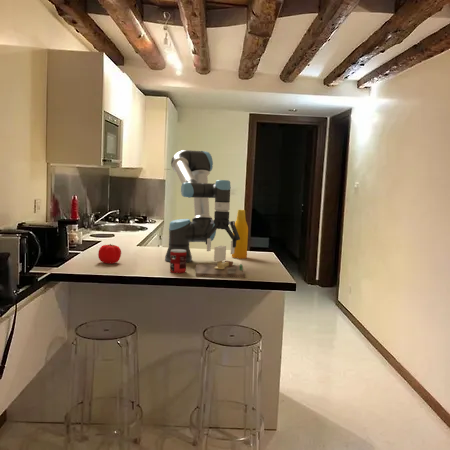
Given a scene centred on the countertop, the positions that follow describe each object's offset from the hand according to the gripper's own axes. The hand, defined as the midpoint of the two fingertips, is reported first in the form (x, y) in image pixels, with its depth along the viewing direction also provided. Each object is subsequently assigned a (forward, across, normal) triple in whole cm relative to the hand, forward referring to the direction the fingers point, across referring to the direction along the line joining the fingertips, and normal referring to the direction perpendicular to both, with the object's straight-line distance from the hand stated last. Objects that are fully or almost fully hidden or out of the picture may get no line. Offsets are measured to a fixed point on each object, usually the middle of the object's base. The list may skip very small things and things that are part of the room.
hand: (220, 252), depth 239 cm
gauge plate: (+10, 0, 0) cm, 10 cm away
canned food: (+10, -17, -13) cm, 24 cm away
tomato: (+10, -58, -16) cm, 61 cm away
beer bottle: (+10, -10, +45) cm, 48 cm away
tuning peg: (+8, 0, +4) cm, 9 cm away
